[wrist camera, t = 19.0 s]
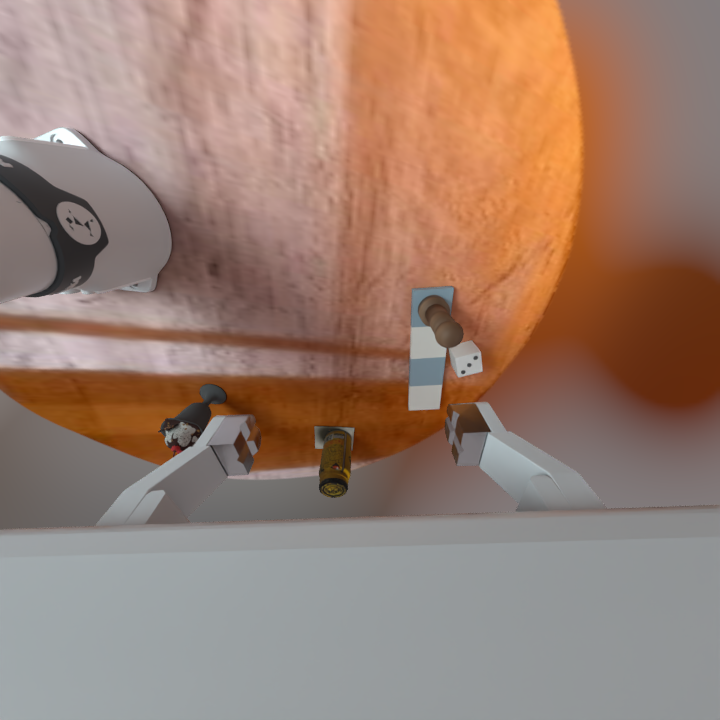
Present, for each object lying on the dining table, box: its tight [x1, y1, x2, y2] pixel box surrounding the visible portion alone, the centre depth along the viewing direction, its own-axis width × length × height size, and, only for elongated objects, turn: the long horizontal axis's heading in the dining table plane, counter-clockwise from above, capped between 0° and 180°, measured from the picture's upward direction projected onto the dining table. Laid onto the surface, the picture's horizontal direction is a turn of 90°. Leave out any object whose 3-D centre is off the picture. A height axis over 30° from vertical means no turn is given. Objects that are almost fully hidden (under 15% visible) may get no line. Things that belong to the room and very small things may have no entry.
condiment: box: [315, 426, 354, 498], centre depth 51 cm, size 7×8×12 cm
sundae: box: [158, 384, 226, 458], centre depth 44 cm, size 7×7×15 cm
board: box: [408, 286, 454, 411], centre depth 45 cm, size 6×24×1 cm, turn 4°
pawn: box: [418, 295, 464, 348], centre depth 35 cm, size 4×4×11 cm
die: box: [448, 340, 483, 377], centre depth 43 cm, size 4×4×4 cm
